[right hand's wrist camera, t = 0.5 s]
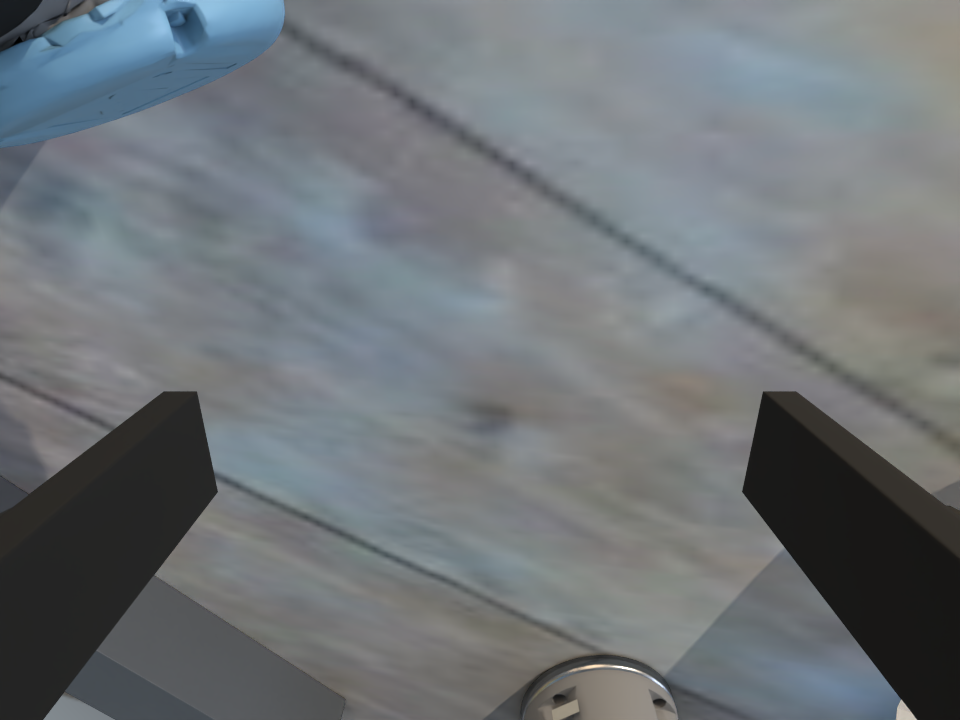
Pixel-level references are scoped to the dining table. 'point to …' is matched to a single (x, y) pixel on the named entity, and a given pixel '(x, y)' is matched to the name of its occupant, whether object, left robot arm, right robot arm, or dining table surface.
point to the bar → (189, 665)
